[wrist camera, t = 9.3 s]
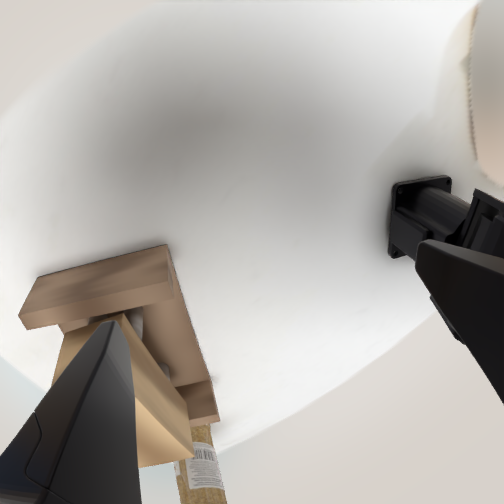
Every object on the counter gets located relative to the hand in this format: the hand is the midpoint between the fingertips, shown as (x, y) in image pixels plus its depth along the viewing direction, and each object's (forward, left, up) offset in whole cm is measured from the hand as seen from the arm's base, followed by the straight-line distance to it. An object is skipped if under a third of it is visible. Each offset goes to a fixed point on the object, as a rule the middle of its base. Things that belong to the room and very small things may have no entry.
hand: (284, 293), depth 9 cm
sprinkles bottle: (+8, +25, -13) cm, 29 cm away
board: (+9, +11, -9) cm, 17 cm away
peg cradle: (+9, +11, -12) cm, 19 cm away
